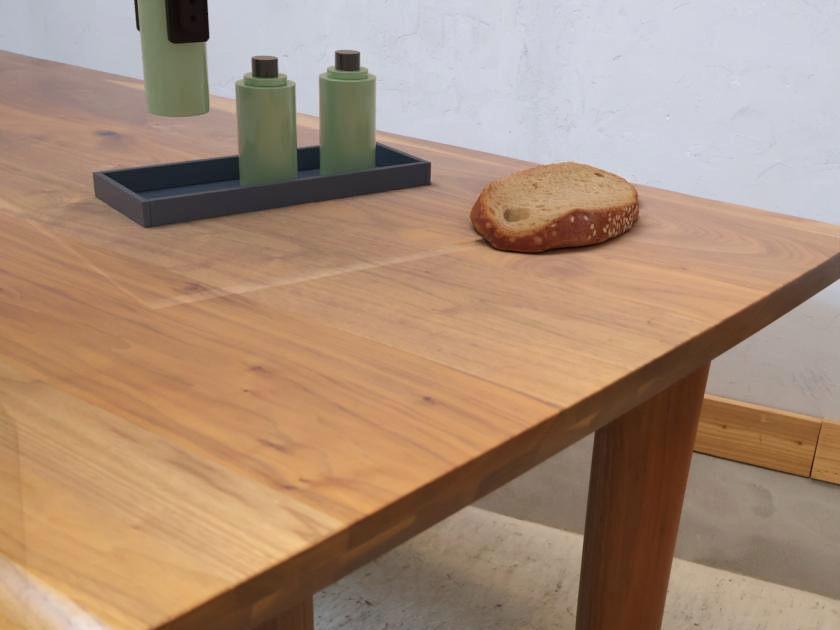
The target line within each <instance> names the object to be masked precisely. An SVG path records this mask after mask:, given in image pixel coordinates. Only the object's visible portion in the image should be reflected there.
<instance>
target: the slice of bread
mask: <svg viewBox="0 0 840 630" xmlns="http://www.w3.org/2000/svg"><path fill="white" fill-rule="evenodd" d="M639 215H640V208H639V192H638V191H637V188H636V187H635V186H634V185H633V184H631V183H630V182H629V181H627V179H625V178H623V177H621V176H619V175H617V174H616V173H612V172H609V171H606V170H604V169H601V168H598V167H595V166H592V165H589V164H584V163H579V162H575V161H565V162H557V163H549V164H546V165H538V166H536V167H531V168H528V169H524V170H522V171H518V172H516V173H515V174H514V173H512V174H510V175H509V176H504V177H502V178H500V179H498V180H495V181H493V180H492V181H490V182H489V183H488V184H487V185H486V186H485V187H484V188H483V189H482V191H481V192H480V194H479V195H478V197H477V199H476V201H474V204H473V206H472V208H471V210H470V213H469V219H470V222H471V224H472V226H473V227H474V229H475V230H476V232H477V233H478V234H479V235H480V236H481V237H482V238H483V239H484V240H485V241H487V242H489V243H490V245H491V246H492V247H493V248H495V249H498V250H502V251H513V252H522V253H523V252H524V253H541V252H542V253H543V252H545V251H546V250H553V249H561V248H562V249H563V248H573V247H575V248H576V247H584V246H590V245H597V244H601V243H604V242H606V241H607V240H609V239H614V238H615V237H617V236H619V235H622V234H624V233H625V232H626V231H628V230H631V228H632V226H633V223H634V221H636V220H638V218H639Z"/></svg>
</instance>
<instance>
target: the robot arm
mask: <svg viewBox="0 0 840 630" xmlns="http://www.w3.org/2000/svg"><path fill="white" fill-rule="evenodd" d="M208 3H209V2H208V0H165V10H166V23H167V37H168V40H169V42H171V43H174V44H181V43H197V42H207V43H208V41H209V40H210V20H209V4H208ZM133 4H134V14H135V15H134V16H135V17H134V18H135V25H136V26H135V28H136V30H137V31H138V32H140V26H139V14H138V2H137V0H133Z"/></svg>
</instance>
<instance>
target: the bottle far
mask: <svg viewBox="0 0 840 630" xmlns="http://www.w3.org/2000/svg"><path fill="white" fill-rule="evenodd" d="M318 123H319V124H318V133H319V135H318V137H319V140H318V141H319V144H318V145H320V176H321V175H328V174H336V173H343V172H350V171H358V170H365V169H372V168H375V167H376V142H377V76H376V74H372V73H369V68H367V67H364V66H361V52H360V51H359V50H353V49H339V50H338V49H337V50H335V51H334V65H331V66H328V67H326V71H325V72H321V73H320V74H318Z"/></svg>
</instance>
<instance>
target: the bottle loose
mask: <svg viewBox="0 0 840 630" xmlns="http://www.w3.org/2000/svg"><path fill="white" fill-rule="evenodd" d="M137 2H138V14H139V26H140V31H139V37H140V48H141V59H142V72H143V85H144V96H145V109H146V112H147V113H148V114H151V115H153V116H158V117H168V118H189V117H199V116H202V115H205V114H208V113H210V112H211V97H210V96H211V95H210V94H211V93H210V77H209V75H210V74H209V61H208V60H209V59H208V41H207V42H197V43H181V44H174V43H171V42H169V40H168V37H167V23H166V10H165V0H137Z"/></svg>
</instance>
